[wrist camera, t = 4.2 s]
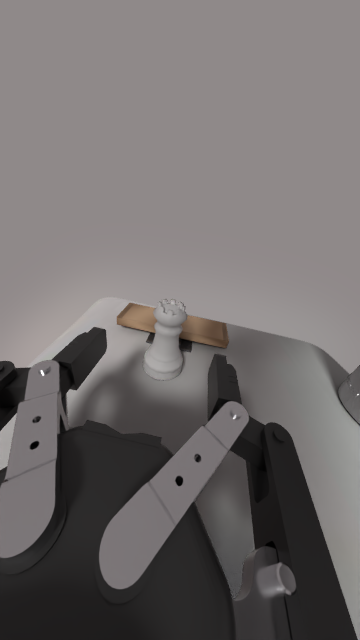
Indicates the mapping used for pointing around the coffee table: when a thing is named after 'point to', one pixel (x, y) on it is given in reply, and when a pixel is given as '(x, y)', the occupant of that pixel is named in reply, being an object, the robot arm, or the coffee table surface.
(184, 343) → the fulcrum
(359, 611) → the coffee table surface
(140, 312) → the beam
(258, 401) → the coffee table surface
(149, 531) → the robot arm
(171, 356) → the rook chess piece
